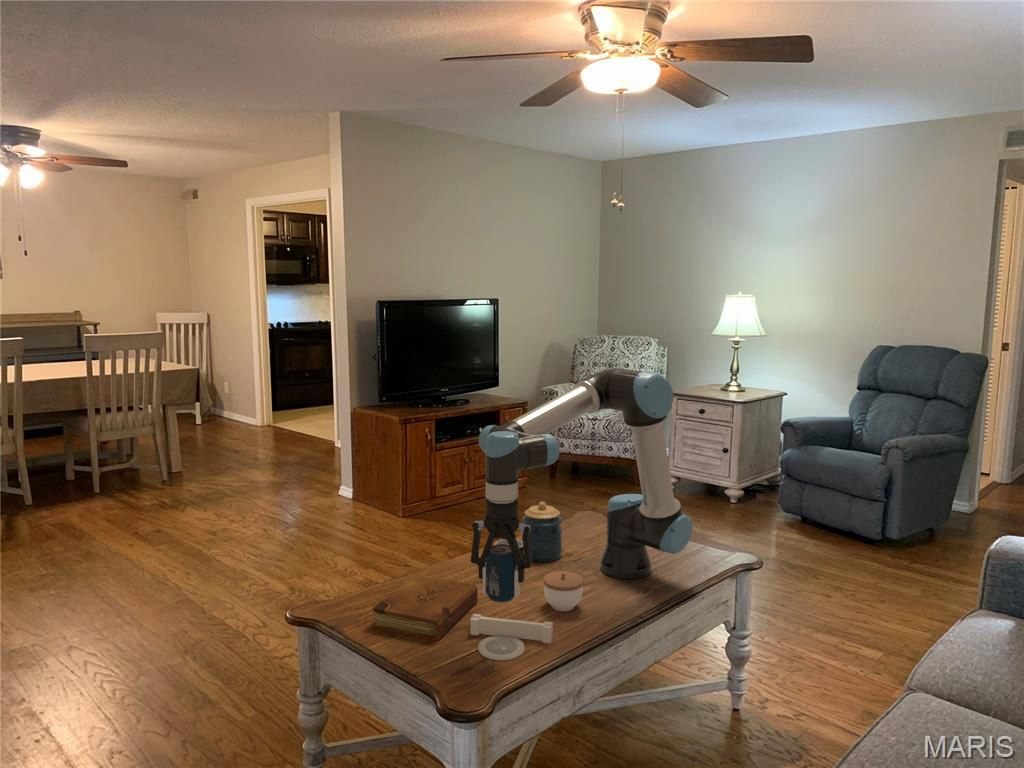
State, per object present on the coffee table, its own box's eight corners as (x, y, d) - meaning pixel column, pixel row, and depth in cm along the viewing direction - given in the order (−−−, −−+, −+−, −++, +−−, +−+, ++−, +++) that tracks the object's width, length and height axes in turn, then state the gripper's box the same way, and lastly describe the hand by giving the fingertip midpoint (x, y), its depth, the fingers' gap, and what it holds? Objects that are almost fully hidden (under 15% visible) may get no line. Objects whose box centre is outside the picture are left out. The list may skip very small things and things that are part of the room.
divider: (552, 637, 176) (552, 622, 176) (550, 643, 173) (550, 628, 173) (473, 629, 180) (473, 614, 180) (470, 634, 177) (470, 619, 177)
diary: (439, 643, 174) (439, 621, 173) (373, 630, 181) (372, 608, 180) (477, 604, 196) (477, 584, 195) (417, 593, 202) (416, 573, 201)
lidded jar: (556, 618, 186) (556, 584, 185) (535, 602, 196) (536, 569, 194) (590, 610, 191) (591, 576, 190) (569, 594, 201) (569, 562, 199)
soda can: (515, 591, 172) (515, 543, 171) (516, 603, 166) (516, 554, 164) (486, 591, 172) (486, 543, 171) (486, 603, 165) (486, 554, 164)
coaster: (528, 640, 175) (528, 637, 175) (519, 663, 164) (519, 660, 164) (484, 635, 177) (484, 632, 177) (472, 657, 167) (472, 654, 166)
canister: (515, 559, 226) (515, 505, 224) (530, 545, 238) (530, 494, 236) (554, 565, 222) (554, 510, 219) (567, 551, 233) (568, 498, 231)
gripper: (546, 497, 167) (545, 590, 170) (464, 491, 171) (465, 582, 174) (541, 506, 160) (539, 604, 163) (455, 500, 164) (456, 595, 167)
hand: (501, 593), depth 169 cm, fingers closed on soda can, 7 cm apart
